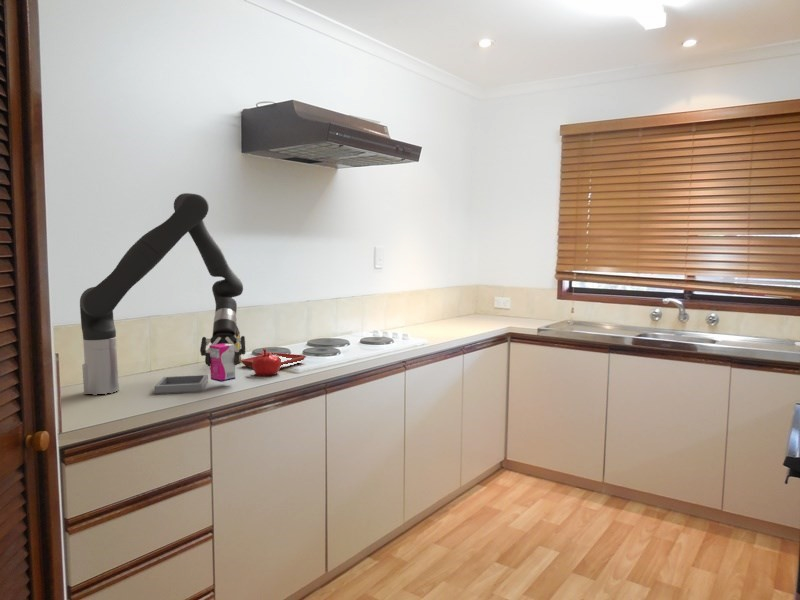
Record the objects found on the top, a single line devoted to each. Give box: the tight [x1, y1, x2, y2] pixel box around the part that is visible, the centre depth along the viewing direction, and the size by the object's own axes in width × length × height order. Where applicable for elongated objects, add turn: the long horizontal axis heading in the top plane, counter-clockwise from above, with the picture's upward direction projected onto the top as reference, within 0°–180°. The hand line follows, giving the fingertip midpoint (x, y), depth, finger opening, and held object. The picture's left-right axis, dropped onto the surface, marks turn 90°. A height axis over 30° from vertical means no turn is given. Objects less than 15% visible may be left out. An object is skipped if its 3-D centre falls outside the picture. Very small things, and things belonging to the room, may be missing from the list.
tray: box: [153, 374, 209, 395], centre depth 191 cm, size 14×14×2 cm
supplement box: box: [209, 343, 236, 383], centre depth 193 cm, size 6×6×12 cm
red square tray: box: [240, 352, 307, 368], centre depth 228 cm, size 18×18×3 cm
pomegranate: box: [251, 348, 281, 377], centre depth 210 cm, size 10×10×9 cm
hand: (222, 364), depth 192 cm, fingers closed on supplement box, 8 cm apart
